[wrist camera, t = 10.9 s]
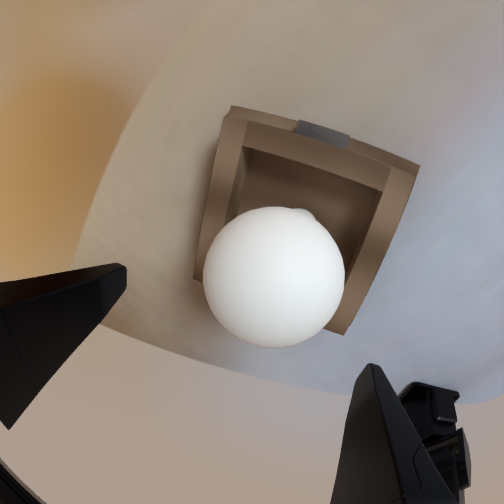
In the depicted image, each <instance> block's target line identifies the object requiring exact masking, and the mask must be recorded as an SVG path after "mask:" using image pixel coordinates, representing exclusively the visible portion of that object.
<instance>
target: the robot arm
mask: <svg viewBox="0 0 504 504" xmlns="http://www.w3.org/2000/svg"><path fill="white" fill-rule="evenodd" d="M126 286H127V269H126V267H125V266H123V265H121V264H119V263H111V264H106V265H100V266H94V267H89V268H83V269H77V270H72V271H66V272H61V273H55V274H49V275H45V276H39V277H35V278H34V277H33V278H28V279H22V280H16V281H8V282H0V421H1V422H2V423H3V425H4V426H5V427H6V428H7V429H8V430H9V429H10V428H11V427H12V426H13V425H14V423H15V422H16V421H17V420H18V418H19V417H20V416H21V414H22V413H23V412H24V411H25V409H26V408H27V407H28V405H29V404H30V403H31V402H32V401H33V399H34V398H35V396H37V394H38V392H40V390H41V389H42V388H43V387H44V386H45V385H46V383H47V382H48V381H49V380H50V379H51V377H52V376H53V375H54V374H55V373H56V371H57V370H58V369H59V368H60V367H61V366H62V364H63V363H64V362H65V361H66V360H67V359H68V358H69V356H70V355H71V354H72V353H73V352H74V351H75V350H76V348H77V347H78V346H79V345H80V344H81V343H82V342H83V341H84V339H85V338H86V337H87V336H88V335H89V334H90V333H91V332H92V331H93V330H94V328H95V327H96V326H97V325H98V324H99V323H100V322H101V321H102V320H103V319H104V317H105V316H106V315H107V314H108V312H109V311H110V309H111V308H112V307H113V306H114V304H115V303H116V302H117V300H118V299H119V298H120V296H121V295H122V294H123V292H124V291H125V289H126ZM459 397H460V395H459V392H457V391H452V390H448V389H444V388H440V387H436V386H432V385H428V384H424V383H420V382H415V383H413V384H412V385H411V386H410V387H409V389H408V390H407V391H406V392H405V393H404V394H403V395H402V396H401V398H400V399H399V398H398V397H397V395H396V393H395V391H394V389H393V388H392V386H391V384H390V382H389V381H388V379H387V377H386V375H385V374H384V372H383V370H382V368H381V367H380V366H379V365H376V364H373V363H368V364H367V365H366V367H365V368H364V369H363V371H362V372H361V374H360V375H359V376H358V378H357V380H356V382H355V385H354V390H353V394H352V398H351V402H350V406H349V411H348V414H347V418H346V423H345V429H344V435H343V441H342V448H341V453H340V459H339V464H338V470H337V475H336V479H335V485H334V489H333V493H332V498H331V503H330V504H465V499H464V498H465V497H464V489H466V488H468V487H470V486H471V459H470V453H469V447H468V443H467V440H466V437H465V434H464V431H463V428H460V429H458V430H457V431H456V425H455V423H456V422H457V416H456V411H455V406H454V402H455V401H456V400H457V399H458V398H459ZM0 504H46V503H45V502H44V501H43V500H42V499H41V498H40V497H38V496H37V495H36V494H35V493H34V492H33V491H32V490H31V489H30V488H29V487H28V486H27V485H25V484H24V483H23V482H22V481H21V480H20V479H19V478H18V477H17V476H16V475H15V474H14V473H13V472H12V471H11V469H9V467H8V466H7V465H6V464H5V463H4V462H3V461H2V460H1V458H0Z"/></svg>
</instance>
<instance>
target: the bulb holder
mask: <svg viewBox="0 0 504 504" xmlns="http://www.w3.org/2000/svg"><path fill="white" fill-rule="evenodd" d="M349 136H350V135H347V134H344V133H341V132H338V131H335V130H332V129H329V128H325V127H322V126H319V125H316V124H312V123H309V122H306V121H302V120H299V121H295V120H292V119H288V118H284V117H280V116H276V115H272V114H268V113H264V112H260V111H256V110H251V109H247V108H242V107H237V106H232V105H231V108H230V112H229V116H224V120H223V124H222V128H221V133H220V137H219V142H218V146H217V151H216V156H215V160H214V165H213V170H212V175H211V180H210V185H209V190H208V195H207V200H206V205H205V211H204V216H203V222H202V227H201V233H200V239H199V244H198V250H197V256H196V262H195V269H194V275H193V279H196V280H198V281H200V282H203V269H204V264H205V260H206V256H207V252H208V250H209V248H210V246H211V245H212V243H213V241H214V239H215V237H216V235H217V234H218V233H219V232H220V231H221V230H222V228H223V227H224V226H225V225H227V224H228V223H229V222H231V221H232V220H233V219H235V218H236V217H237V216H239V215H241V214H243V213H245V212H248V211H250V210H254V209H258V208H263V207H286V208H291V209H294V208H302V209H305V210H307V211H309V212H310V213H311V214H312V215H313V216H314V217H315V219H316V221H318V222H319V223H320V224H321V225H322V226H323V227H324V228H325V229H326V230H327V231H328V232H329V234H330V235H331V237H332V238H333V240H334V241H335V243H336V244H337V246H338V249H339V251H340V253H341V256H342V259H343V264H344V270H345V278H344V291H343V294H342V298H341V301H340V304H339V306H338V308H337V310H336V311H335V313H334V315H333V317H332V318H331V319H330V321H329V322H328V323H327V324H326V325H325V326H324V327H323V329H326V330H329V331H332V332H335V333H337V334H340V335H343V336H344V334H345V332H346V330H347V329H348V327H349V326H350V325H351V323H352V321H353V319H354V317H355V315H356V314H357V312H358V310H359V308H360V306H361V304H362V302H363V300H364V298H365V296H366V294H367V292H368V290H369V288H370V286H371V284H372V282H373V280H374V278H375V276H376V274H377V272H378V270H379V268H380V265H381V263H382V261H383V259H384V257H385V255H386V252H387V250H388V248H389V246H390V243H391V241H392V239H393V236H394V234H395V232H396V229H397V227H398V224H399V222H400V219H401V217H402V214H403V212H404V209H405V207H406V204H407V202H408V199H409V196H410V193H411V191H412V188H413V185H414V182H415V180H416V177H417V174H418V171H419V168H420V165H418V164H415V163H413V162H411V161H408V160H406V159H404V158H402V157H399V156H397V155H394V154H392V153H389V152H387V151H385V150H382V149H379V148H377V147H374V146H372V145H369V144H366V143H364V142H361V141H358V140H355V139H353V138H350V137H349Z"/></svg>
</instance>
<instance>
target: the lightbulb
mask: <svg viewBox="0 0 504 504" xmlns="http://www.w3.org/2000/svg"><path fill="white" fill-rule="evenodd" d="M344 278H345V270H344V264H343V259H342V256H341V253H340V251H339V249H338V246H337V244H336V243H335V241H334V240H333V238H332V237H331V235H330V234H329V232H328V231H327V230H326V229H325V228H324V227H323V226H322V225H321V224H320V223H319V222H318V221H316V219H315V217H314V216H313V215H312V214H311V213H310V212H309V211H307V210H305V209H302V208H294V209H291V208H286V207H263V208H258V209H254V210H250V211H248V212H245V213H243V214H241V215H239V216H237V217H236V218H235V219H233V220H232V221H231V222H229V223H228V224H227V225H225V226H224V227H223V228H222V230H221V231H220V232H219V233H218V234H217V235H216V237H215V239H214V241H213V243H212V245H211V246H210V248H209V250H208V252H207V256H206V260H205V264H204V269H203V285H204V291H205V295H206V299H207V302H208V304H209V307H210V309H211V311H212V312H213V314H214V316H215V317H216V319H217V320H218V321H219V322H220V324H221V325H222V326H223V327H224V328H225V329H226V330H227V331H228V332H230V333H231V334H232V335H233V336H235V337H237V338H238V339H240V340H242V341H244V342H246V343H249V344H252V345H255V346H259V347H267V348H280V347H287V346H292V345H295V344H298V343H300V342H302V341H305V340H307V339H309V338H311V337H312V336H314V335H315V334H317V333H318V332H319V331H320V330H321V329H322V328H323V327H324V326H325V325H326V324H327V323H328V322H329V321H330V319H331V318H332V317H333V315H334V313H335V311H336V310H337V308H338V306H339V304H340V301H341V298H342V294H343V291H344Z"/></svg>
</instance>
